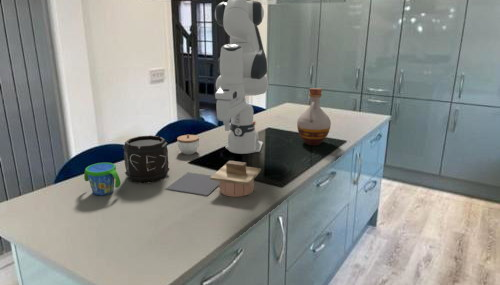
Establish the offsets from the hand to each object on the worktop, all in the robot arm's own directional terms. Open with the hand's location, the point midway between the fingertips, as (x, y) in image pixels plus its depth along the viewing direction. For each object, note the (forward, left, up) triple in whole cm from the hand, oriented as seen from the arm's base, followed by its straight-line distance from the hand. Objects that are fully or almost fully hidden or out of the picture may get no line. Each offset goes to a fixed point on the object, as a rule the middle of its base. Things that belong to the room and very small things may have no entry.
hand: (232, 127), depth 140 cm
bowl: (+2, +2, -24) cm, 25 cm away
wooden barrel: (+2, -38, -25) cm, 45 cm away
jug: (-68, +19, -25) cm, 75 cm away
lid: (+2, +2, -18) cm, 19 cm away
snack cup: (+21, -45, -25) cm, 55 cm away
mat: (+2, -15, -24) cm, 29 cm away
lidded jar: (-32, -37, -25) cm, 54 cm away
